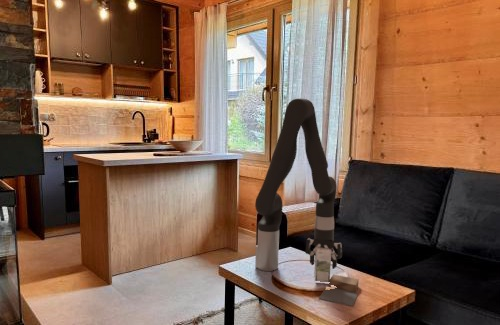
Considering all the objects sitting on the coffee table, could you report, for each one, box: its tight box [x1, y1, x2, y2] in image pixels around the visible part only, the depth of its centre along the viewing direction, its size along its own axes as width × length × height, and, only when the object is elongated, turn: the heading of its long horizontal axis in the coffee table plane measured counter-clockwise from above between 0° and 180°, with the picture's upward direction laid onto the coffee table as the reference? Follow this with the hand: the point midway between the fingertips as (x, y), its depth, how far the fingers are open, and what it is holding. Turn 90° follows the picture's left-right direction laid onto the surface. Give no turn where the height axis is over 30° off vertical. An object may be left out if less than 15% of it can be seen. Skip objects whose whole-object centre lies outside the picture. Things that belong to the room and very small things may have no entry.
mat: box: [318, 288, 359, 307], centre depth 136 cm, size 12×11×1 cm
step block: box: [328, 273, 360, 293], centre depth 144 cm, size 10×6×3 cm, turn 64°
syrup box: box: [313, 247, 332, 282], centre depth 148 cm, size 6×6×14 cm
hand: (323, 266), depth 148 cm, fingers open, 8 cm apart
